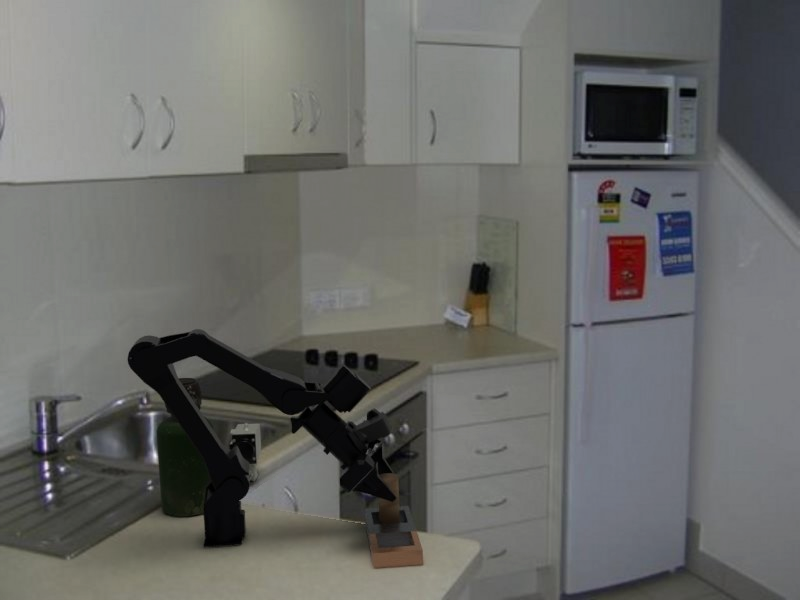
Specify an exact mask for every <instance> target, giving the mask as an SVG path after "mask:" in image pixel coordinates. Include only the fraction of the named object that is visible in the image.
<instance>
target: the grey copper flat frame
mask: <svg viewBox="0 0 800 600" xmlns="http://www.w3.org/2000/svg"><path fill="white" fill-rule="evenodd" d="M399 518H400V523H393V524H379V507H370V508H369V507H367V508H364V520H365V521H364V522H365V528H366V533H367V538H368V543H369V544H368V545H369V550H370V556H371V560H372V561H371V562H372V567H373V569H381V568H382V569H383V568H395V567H409V566H422V565H424V555H423V554H424V550H423V546H422V544H421V540H420V537H419V535H418V532H417V527H416V525H415V522H414V519H413V516H412V512H411V509H410V507H409V505H401V506H400V505H399Z"/></svg>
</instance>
